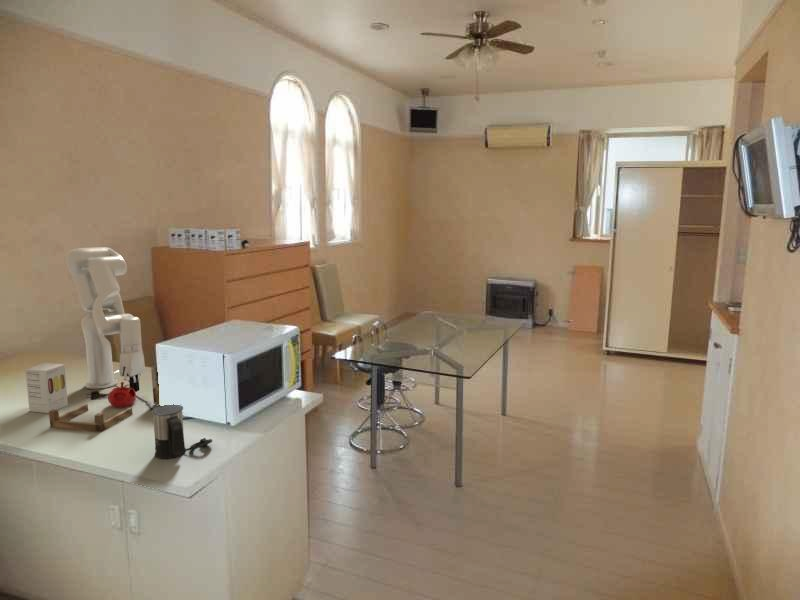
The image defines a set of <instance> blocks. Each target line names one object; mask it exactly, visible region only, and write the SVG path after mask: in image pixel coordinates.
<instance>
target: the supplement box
mask: <svg viewBox="0 0 800 600" xmlns="http://www.w3.org/2000/svg"><path fill="white" fill-rule="evenodd" d="M65 365H66V364H63V363H52V362H44V363H41V364H38V365H35V366H32V367H29V368H28V367H27V368H26V369H25V378H26V379H25V380H26V388H27V399H28V409H29V410H28V411H29V412H35V413H45V414H49V411H51V410H53V409H55V410H58V411H59V410H60V409H63V408H65V407H67V406H69V402H68V401H69V400H68V391H67V389H68V388H67V377H66V367H65Z"/></svg>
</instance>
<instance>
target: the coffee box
mask: <svg viewBox="0 0 800 600" xmlns="http://www.w3.org/2000/svg"><path fill="white" fill-rule="evenodd" d="M150 373H151V383H152V384H151V386H152V397H153V405H154V404H155V405H154V406H156V405H159V384H158V372H157V364H155V365H152V366H150Z"/></svg>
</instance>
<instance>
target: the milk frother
mask: <svg viewBox="0 0 800 600" xmlns="http://www.w3.org/2000/svg"><path fill="white" fill-rule="evenodd" d="M183 409H184V406H183V405H182V404H180V405H174V404H173V405H164V406H156V407H155V408H153V409H152V410H151V413H152V415H153V416H152V417H153V418H152V419H153V421H152V422H153V433H154V445H155V447H154V450H155V452H154V456H155V457H156V458H158V459H163V460H165V459H167V460H168V459H174V458H178V457H180V456H182V455H184V454H185V453H186V452H187V451H191V450H194V449H197V448H198V449H199V448H202V447H203V448H204V447H206V446H207V445H209V444H211V443H212V442H213V439H212V438H209V439H207V438H206V437H204V438H203V437H202V439H200V440H199V441H198V442H196V443H193V444H192V445H190V447H188V448H186V446H185V445H186V444H185V435H184V433H185V432H184V417H183V416H184V415H183V414H184V413H183Z"/></svg>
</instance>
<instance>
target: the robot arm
mask: <svg viewBox="0 0 800 600" xmlns="http://www.w3.org/2000/svg"><path fill="white" fill-rule="evenodd" d="M66 267H67V269H68V272H69V273H70V275H71V277H72V278H73V280H74V284H75V288H76V292H77V295H78V301H79V303H80V306H81V309H82V310H83V311H85V312H91V314H88V315H86V316H84V317H83V318H82V320H81V323H80V324H81V330H82V333H83V337H84V343H85V352H86V354H85V355H86V363H87V365H86V366H87V375H88V381H86V382H85V384H84V387H85V388H87V389H90V390H93V389H94V390H96V389H97V390H99V389H100V390H101V389H106V388H110V387H111V388H112V387H114V386H117V384H118V382H119V381H118V379H117V378H115V377H116V376H120V377H123V381H124V382H125V381H127V382H128V383H129V384H128V386H129V387H131V388H133V389H134V390H135V392H136V393H137V392H139V391H140V380H141V379H140V378H141V375H142V374H144V371H145V368H146V367H145V366H146V364H145V356H144V352H143V343H142V330H141V329H142V327H141V319H140V318H139V317H138V316H134V315H133V314H131V313H125V308H124V304H123V301H122V297H121V293H120V291H121V287H120V284H119V283H118V279H117V277H116V276H118V277H119V276H123V275H125V274H126V273H127V271H128V266H127V262H126V260H125V259H124V257H123V256H122V255H121V254H119V253H118V252H117V251H115V250H113V249H112V248H110V247H109V246H108V247H105V246H100V247H99V246H98V247H97V246H95V247H79V248H74V249H71V250H69V251H68V252H67V255H66ZM105 310H108V311H106V312H104V311H105ZM116 334H119V336H120V339H119V340H120V349H121V351H120V355H119V370H118V369H117V370H115V371H114V367H113V354H112V345H111V342H110V341H109V340H108V338H106V337H105V336H110V335H116Z"/></svg>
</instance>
